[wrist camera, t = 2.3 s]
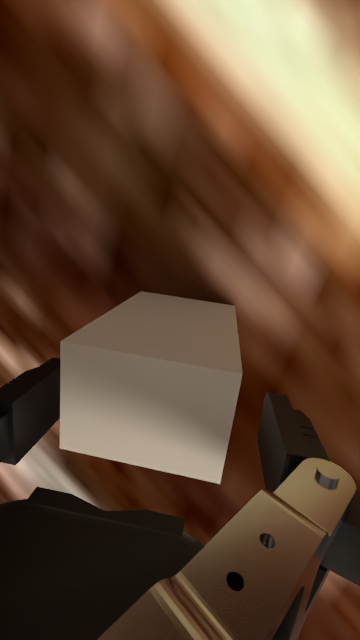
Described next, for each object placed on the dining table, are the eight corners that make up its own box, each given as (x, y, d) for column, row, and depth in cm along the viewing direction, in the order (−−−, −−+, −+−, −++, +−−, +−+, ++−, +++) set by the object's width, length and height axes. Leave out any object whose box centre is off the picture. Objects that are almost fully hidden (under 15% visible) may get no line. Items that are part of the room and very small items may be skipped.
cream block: (140, 291, 18) (60, 341, 9) (234, 305, 17) (242, 373, 9) (135, 352, 19) (59, 448, 10) (223, 368, 18) (220, 484, 10)
